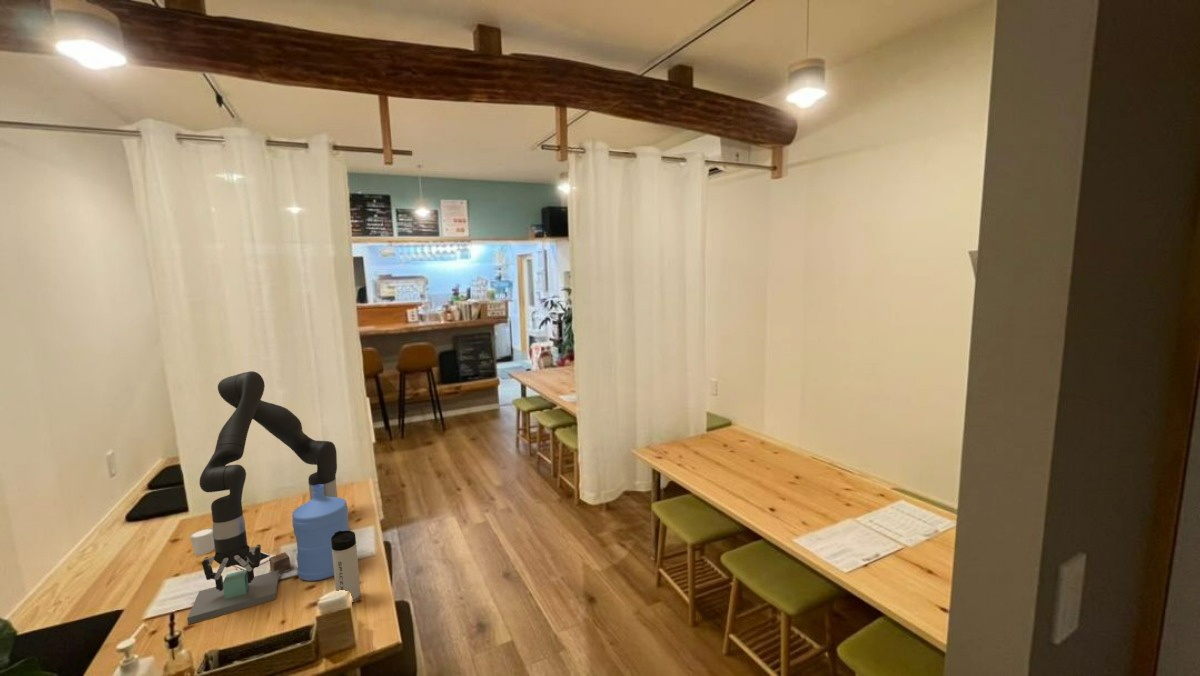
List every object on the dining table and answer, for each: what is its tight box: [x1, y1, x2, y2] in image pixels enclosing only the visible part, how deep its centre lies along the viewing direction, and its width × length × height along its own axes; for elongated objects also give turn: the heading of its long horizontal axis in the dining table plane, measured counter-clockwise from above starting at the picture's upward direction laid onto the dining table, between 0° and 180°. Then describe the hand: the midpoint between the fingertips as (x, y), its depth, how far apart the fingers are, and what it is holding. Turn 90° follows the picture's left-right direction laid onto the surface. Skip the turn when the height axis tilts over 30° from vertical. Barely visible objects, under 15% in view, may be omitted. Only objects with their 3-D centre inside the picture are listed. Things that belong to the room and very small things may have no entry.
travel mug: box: [331, 530, 362, 603], centre depth 139 cm, size 6×7×20 cm
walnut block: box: [268, 552, 291, 575], centre depth 156 cm, size 4×4×4 cm
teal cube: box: [223, 570, 249, 599], centre depth 142 cm, size 5×5×5 cm
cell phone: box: [232, 551, 274, 571], centre depth 164 cm, size 9×18×1 cm, turn 64°
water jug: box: [291, 484, 351, 582], centre depth 156 cm, size 16×16×28 cm
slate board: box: [186, 570, 280, 625], centre depth 142 cm, size 20×14×2 cm
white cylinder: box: [189, 527, 215, 557], centre depth 170 cm, size 7×7×7 cm
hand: (235, 585), depth 142 cm, fingers open, 6 cm apart
